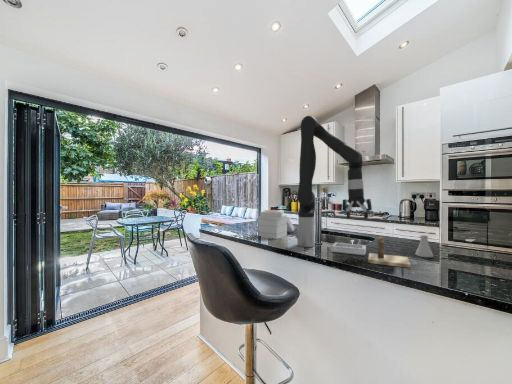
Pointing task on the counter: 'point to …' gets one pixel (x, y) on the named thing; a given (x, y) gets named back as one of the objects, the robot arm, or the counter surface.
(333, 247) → the shallow rectangular tray
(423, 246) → the flask
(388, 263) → the plate
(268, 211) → the paper dispenser
